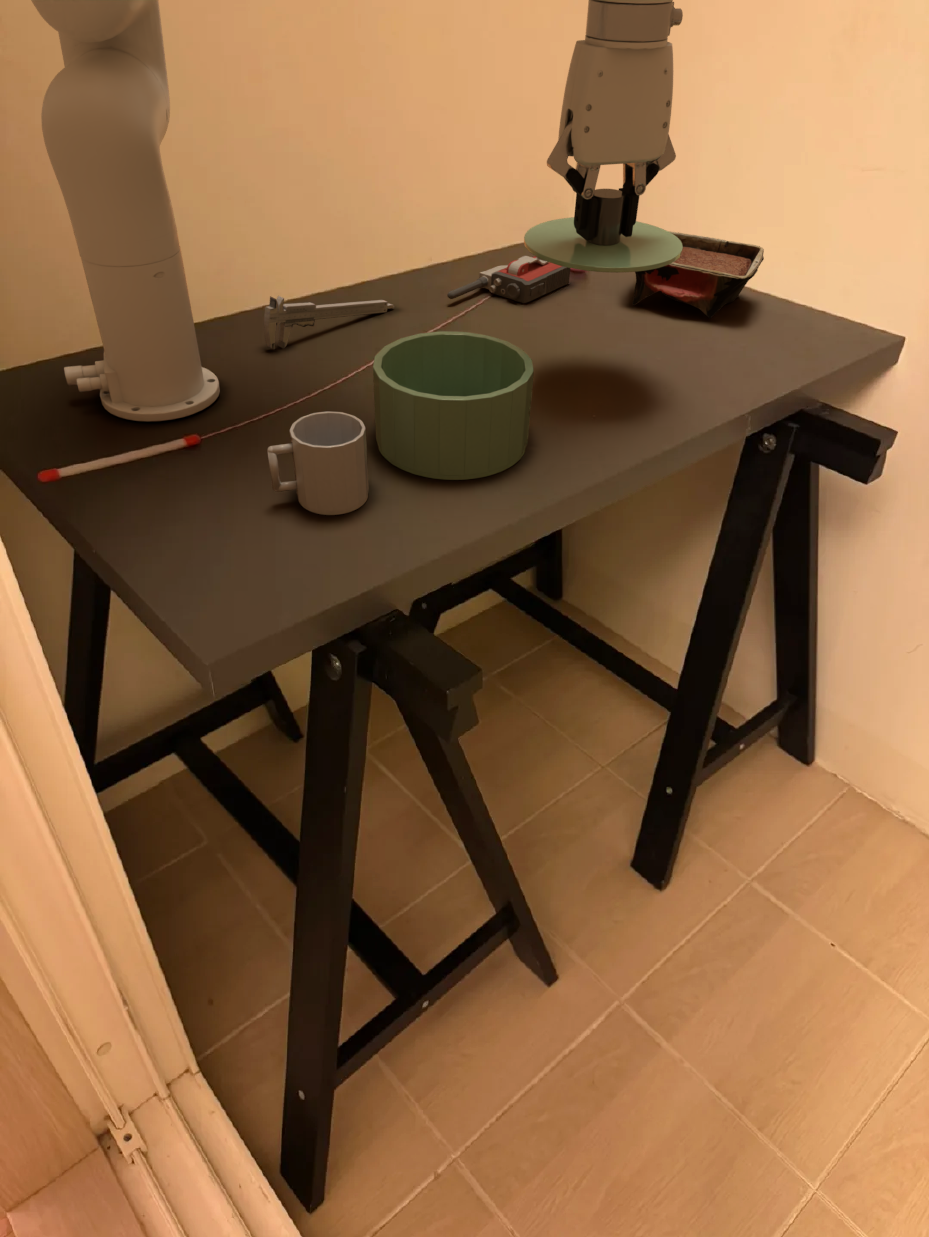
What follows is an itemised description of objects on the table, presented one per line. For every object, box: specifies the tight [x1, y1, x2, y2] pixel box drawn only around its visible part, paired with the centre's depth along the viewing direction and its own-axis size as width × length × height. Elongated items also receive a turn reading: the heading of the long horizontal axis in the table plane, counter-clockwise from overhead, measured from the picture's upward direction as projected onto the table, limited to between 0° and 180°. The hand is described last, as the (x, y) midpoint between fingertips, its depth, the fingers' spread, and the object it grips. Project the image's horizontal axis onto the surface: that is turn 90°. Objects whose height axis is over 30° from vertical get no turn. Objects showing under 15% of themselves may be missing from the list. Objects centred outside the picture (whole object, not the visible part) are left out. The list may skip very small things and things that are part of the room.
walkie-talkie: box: [446, 255, 571, 304], centre depth 122 cm, size 9×4×20 cm
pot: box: [372, 330, 535, 481], centre depth 88 cm, size 16×16×8 cm
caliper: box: [263, 295, 395, 350], centre depth 110 cm, size 20×1×6 cm, turn 137°
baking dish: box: [632, 230, 765, 319], centre depth 121 cm, size 14×18×10 cm
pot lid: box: [523, 188, 683, 273], centre depth 91 cm, size 17×17×6 cm
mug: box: [266, 411, 370, 516], centre depth 80 cm, size 9×7×7 cm
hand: (603, 233), depth 91 cm, fingers closed on pot lid, 3 cm apart
